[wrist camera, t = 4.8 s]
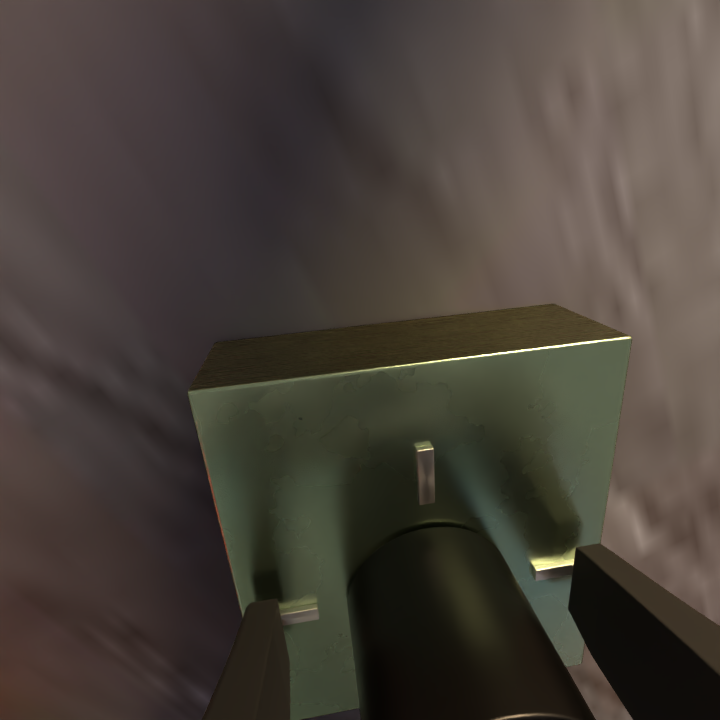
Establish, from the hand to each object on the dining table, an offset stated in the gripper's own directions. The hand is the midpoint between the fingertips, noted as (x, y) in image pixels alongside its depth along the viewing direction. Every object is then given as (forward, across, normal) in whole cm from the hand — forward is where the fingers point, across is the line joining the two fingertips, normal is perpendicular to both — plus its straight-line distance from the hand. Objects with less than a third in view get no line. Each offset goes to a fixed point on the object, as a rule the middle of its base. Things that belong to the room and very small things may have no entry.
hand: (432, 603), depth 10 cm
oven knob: (0, 0, 0) cm, 0 cm away
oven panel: (+3, 0, -1) cm, 4 cm away
